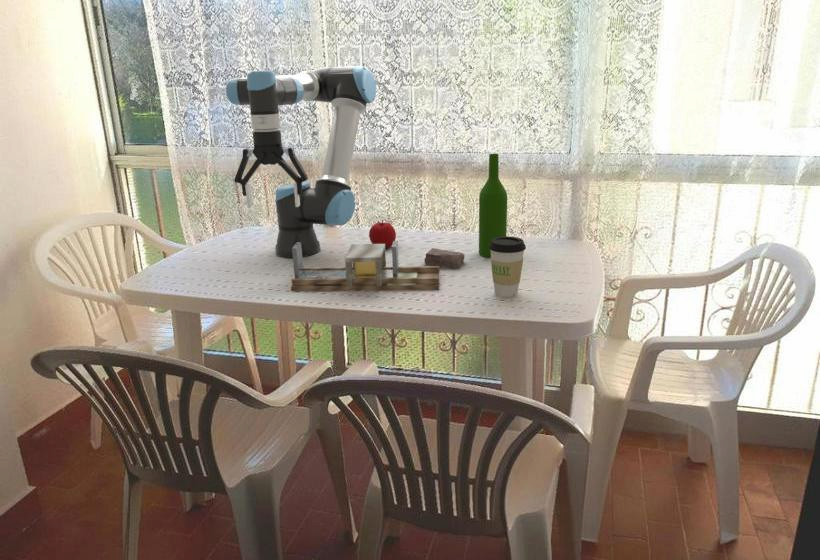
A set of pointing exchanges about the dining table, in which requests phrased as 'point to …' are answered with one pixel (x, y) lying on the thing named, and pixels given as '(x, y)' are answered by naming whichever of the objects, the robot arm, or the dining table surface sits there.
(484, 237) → the wine bottle
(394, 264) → the grey u-shaped piece
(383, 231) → the apple
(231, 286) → the dining table surface
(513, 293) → the coffee cup
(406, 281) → the tunnel board
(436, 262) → the stone
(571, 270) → the dining table surface
